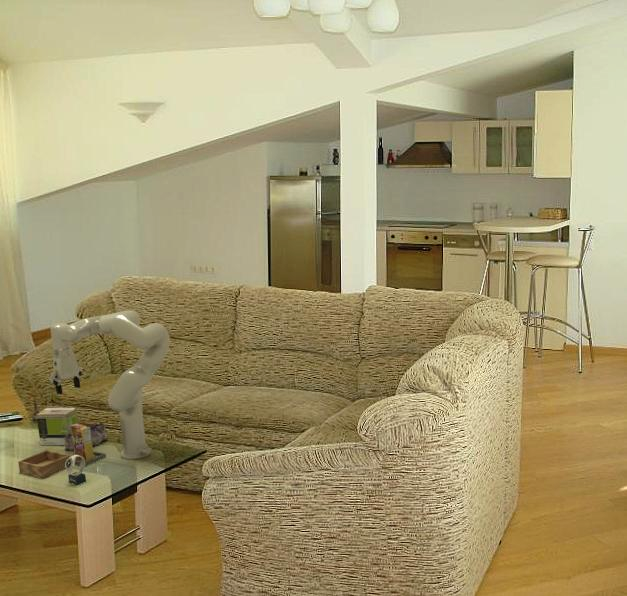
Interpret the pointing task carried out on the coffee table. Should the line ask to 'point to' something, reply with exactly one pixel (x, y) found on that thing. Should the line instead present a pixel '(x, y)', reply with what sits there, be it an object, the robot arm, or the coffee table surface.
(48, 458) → the crate
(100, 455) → the grey square frame
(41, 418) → the tea box
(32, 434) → the coffee table surface
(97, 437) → the geode
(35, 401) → the eiffel tower figurine
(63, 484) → the coffee table surface
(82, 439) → the candy box
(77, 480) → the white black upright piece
